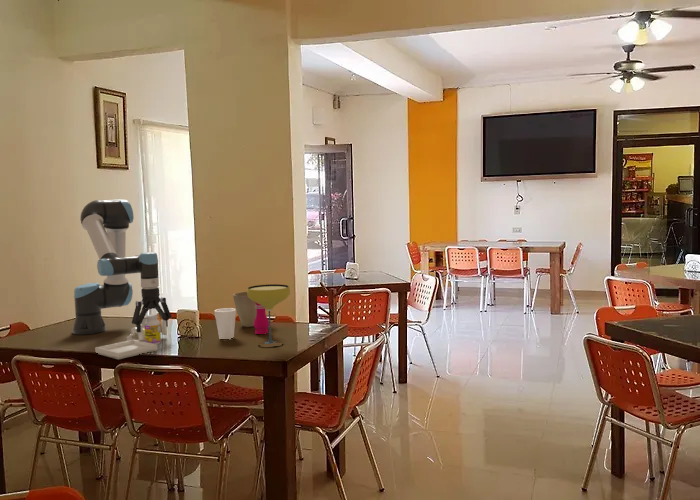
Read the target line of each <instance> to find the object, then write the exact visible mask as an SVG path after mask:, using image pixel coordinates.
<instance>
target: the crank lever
mask: <svg viewBox="0 0 700 500" xmlns="http://www.w3.org/2000/svg"><path fill="white" fill-rule="evenodd" d="M156 315H157V317H158V318H157V320H158V321H160V332H161V333H162V326H161V320H163V319H162V317H161V316H160V314H159V313H158V312H157V313H156ZM166 328H168V327H166ZM130 334H135V337H138V332H137V330H136V326H135V327H131V328H130ZM143 335H145V327H143Z"/></svg>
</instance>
